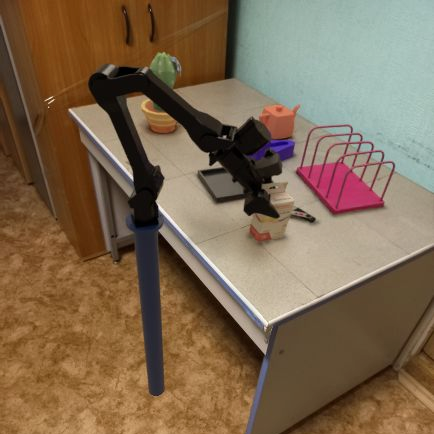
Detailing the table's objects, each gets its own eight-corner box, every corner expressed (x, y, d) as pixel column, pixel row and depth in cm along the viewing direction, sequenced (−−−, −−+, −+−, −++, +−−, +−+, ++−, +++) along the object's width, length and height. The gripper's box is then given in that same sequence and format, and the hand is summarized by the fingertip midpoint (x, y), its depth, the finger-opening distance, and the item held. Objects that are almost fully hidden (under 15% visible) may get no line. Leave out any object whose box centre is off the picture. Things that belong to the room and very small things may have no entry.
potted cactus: (178, 139, 150) (178, 63, 133) (136, 133, 151) (131, 57, 134) (187, 121, 161) (188, 49, 144) (148, 116, 162) (144, 43, 145)
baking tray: (216, 203, 124) (216, 198, 122) (197, 175, 134) (197, 170, 133) (274, 193, 130) (275, 188, 128) (252, 167, 140) (252, 162, 139)
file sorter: (341, 166, 144) (354, 121, 133) (383, 207, 128) (403, 159, 117) (295, 171, 140) (305, 125, 128) (333, 215, 123) (349, 166, 112)
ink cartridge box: (257, 243, 111) (270, 194, 101) (248, 232, 114) (259, 183, 104) (284, 237, 114) (299, 189, 104) (274, 227, 117) (288, 179, 107)
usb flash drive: (316, 220, 120) (316, 217, 120) (304, 227, 118) (305, 224, 117) (292, 207, 125) (293, 204, 124) (281, 213, 122) (281, 210, 121)
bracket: (254, 169, 139) (259, 135, 131) (239, 154, 146) (243, 120, 137) (300, 160, 145) (307, 127, 137) (283, 146, 152) (289, 113, 143)
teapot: (248, 130, 159) (252, 102, 152) (287, 123, 166) (292, 96, 158) (264, 144, 152) (269, 115, 145) (305, 136, 159) (311, 108, 151)
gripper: (262, 165, 90) (305, 213, 97) (266, 127, 103) (304, 171, 110) (224, 194, 96) (267, 236, 103) (233, 154, 109) (271, 194, 116)
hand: (279, 208), depth 108 cm, fingers closed on ink cartridge box, 8 cm apart
